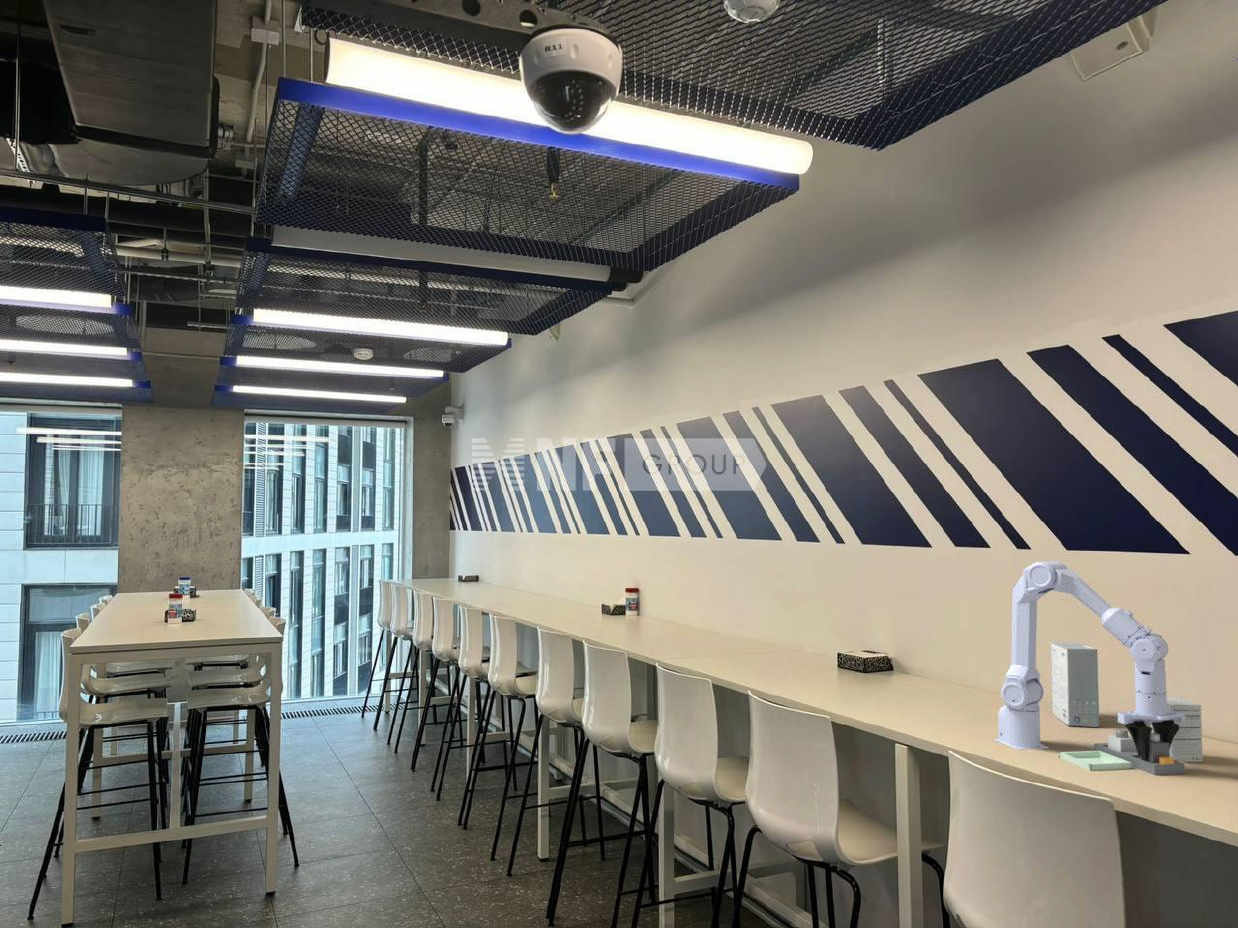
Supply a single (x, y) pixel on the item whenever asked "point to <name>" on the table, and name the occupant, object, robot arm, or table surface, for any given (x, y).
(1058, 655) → the hard drive box
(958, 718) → the table surface
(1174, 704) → the supplement box
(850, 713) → the table surface
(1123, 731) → the twin plug
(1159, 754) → the plug
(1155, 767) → the power strip
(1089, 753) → the tray
